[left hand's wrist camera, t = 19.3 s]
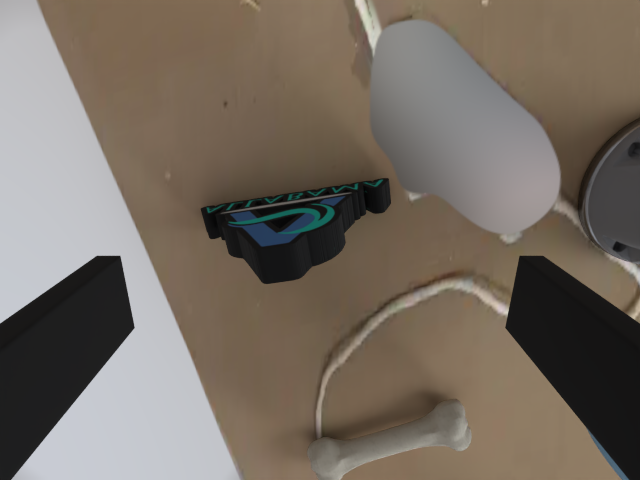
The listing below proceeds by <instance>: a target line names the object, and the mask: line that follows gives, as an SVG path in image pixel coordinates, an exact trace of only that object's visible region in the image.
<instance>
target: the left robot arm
mask: <svg viewBox="0 0 640 480" xmlns="http://www.w3.org/2000/svg"><path fill="white" fill-rule="evenodd" d="M579 216H580V220H581V224H582V226H583V229H584V231H585V233H586V234H587V236H588V237H589V238H590V240H591V241H592V242H593V243H594V244H595V245H596V246H598V247H599V248H600V249H602V250H604V251H605V252H607V253H609V254H611V255H613V256H615V257H617V258H619V259H622V260H625V261H628V262H632V263H636V264H640V118H639V119H637V120H635V121H634V122H632V123H630V124H629V125H627V126H626V127H624V128H623V129H621V130H620V131H619V132H618V133H616V134H615V135H614V136H613V137H612V138H611V139H610V140H609V141H608V142H607V143H606V144H605V145H604V146H603V147H602V148H601V150H600V151H599V152H598V153H597V155H596V156H595V158H594V159H593V161H592V162H591V164H590V166H589V168H588V170H587V172H586V174H585V176H584V179H583V182H582V185H581V189H580V194H579ZM505 328H506V329H507V330H508V332H509V333H510V334H511V335H512V337H513V338H514V339H515V340H516V341H517V343H518V344H519V345H520V346H521V348H522V349H523V350H524V351H525V352H526V354H527V355H528V356H529V357H530V359H531V360H532V361H533V362H534V364H535V365H536V366H537V367H538V368H539V370H540V371H541V372H542V373H543V375H544V376H545V377H546V378H547V380H548V381H549V382H550V383H551V384H552V386H553V387H554V388H555V389H556V391H557V392H558V393H559V394H560V396H561V397H562V398H563V399H564V400H565V402H566V403H567V404H568V405H569V407H570V408H571V409H572V410H573V412H574V413H575V414H576V415H577V416H578V418H579V419H580V420H581V421H582V423H583V424H584V425H585V426H586V428H587V430H588V432H589V434H590V436H591V437H592V439H593V441H594V442H595V444H596V446H597V447H598V449H599V450H600V452H601V453H602V455H603V456H604V457H605V459H606V460H607V461H608V463H609V464H610V465H611V467H612V468H613V469H614V471H615V472H616V473H617V474H618V475H619V477H620V478H621V479H622V480H640V323H638V322H637V321H635V320H634V319H632V318H631V317H630V316H628V315H627V314H625V313H624V312H622V311H621V310H620V309H618V308H617V307H615V306H614V305H612V304H611V303H610V302H608V301H607V300H605V299H604V298H602V297H601V296H600V295H598V294H597V293H595V292H594V291H592V290H591V289H590V288H588V287H587V286H585V285H584V284H582V283H581V282H580V281H578V280H577V279H575V278H574V277H572V276H571V275H570V274H568V273H567V272H565V271H564V270H562V269H561V268H560V267H558V266H557V265H555V264H554V263H552V262H551V261H550V260H548V259H547V258H545V257H544V256H520V257H519V262H518V267H517V272H516V277H515V282H514V287H513V292H512V297H511V302H510V307H509V312H508V317H507V322H506V327H505ZM133 329H134V323H133V317H132V312H131V307H130V303H129V297H128V292H127V287H126V282H125V277H124V272H123V267H122V262H121V257H120V256H96V257H95V258H93V259H92V260H90V261H89V262H88V263H86V264H85V265H83V266H82V267H80V268H79V269H78V270H76V271H75V272H73V273H72V274H70V275H69V276H68V277H66V278H65V279H63V280H62V281H60V282H59V283H58V284H56V285H55V286H53V287H52V288H50V289H49V290H48V291H46V292H45V293H43V294H42V295H40V296H39V297H38V298H36V299H35V300H33V301H32V302H30V303H29V304H28V305H26V306H25V307H23V308H22V309H20V310H19V311H18V312H16V313H15V314H13V315H12V316H10V317H9V318H8V319H6V320H5V321H3V322H2V323H0V480H11V479H12V478H13V477H14V475H15V474H16V473H17V472H18V471H19V469H20V468H21V467H22V466H23V464H24V463H25V462H26V461H27V459H28V458H29V457H30V456H31V454H32V453H33V452H34V451H35V450H36V448H37V447H38V446H39V445H40V443H41V442H42V441H43V440H44V438H45V437H46V436H47V435H48V434H49V432H50V431H51V430H52V429H53V427H54V426H55V425H56V424H57V423H58V421H59V420H60V419H61V418H62V416H63V415H64V414H65V413H66V412H67V410H68V409H69V408H70V407H71V405H72V404H73V403H74V402H75V400H76V399H77V398H78V397H79V395H80V394H81V393H82V392H83V391H84V389H85V388H86V387H87V386H88V384H89V383H90V382H91V381H92V380H93V378H94V377H95V376H96V375H97V373H98V372H99V371H100V370H101V368H102V367H103V366H104V365H105V364H106V362H107V361H108V360H109V359H110V357H111V356H112V355H113V354H114V352H115V351H116V350H117V349H118V348H119V346H120V345H121V344H122V343H123V341H124V340H125V339H126V338H127V336H128V335H129V334H130V333H131V332H132V330H133Z"/></svg>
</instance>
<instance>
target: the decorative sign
mask: <svg viewBox="0 0 640 480" xmlns="http://www.w3.org/2000/svg"><path fill="white" fill-rule="evenodd" d="M390 204H391V198H390V188H389V179H388V178H383V179H377V180H374V181H373V182H372V181H364V182H358V183H353V184H350V185H341V186H333V187H327V188H321V189H318V190H317V191H316V190H308V191H303V192H295V193H289V194H282V195H277V196H275V197H264V198H257V199H251V200H246V201H238V202H232V203H226V204H220V205H218V206H216V207H215V206H207V207H203V208H201V212H202V215H203V219H204V222H205V226H206V230H207V232H208V235H209V238H210V239H216V238H219V237H221V238H222V240H225V241H226V245H227V248H228V252H229V254H230V255H231V256H233V257H237V258H243V259H244V260H245V261H246V262H247V263H248V264H249V266H250V267H251V268H252V270H253V271H254V272H255V274H256V275H257V276H258V277H259V279H260V280H261V282H263V283H264V284H271V283H277V282H284V281H292V280H296V279H299V278H301V277H303V276H304V275H305V274H306V272H307V271H308V270H309V269H310V268H311V267H312V266H316V265H319V264H322V263H324V262H326V261H328V260H330V259H332V258H334V257H335V256H336V255H337V254H339V253H340V252H341V251H342V249H343V248H344V245H345V236H344V233H345V232H346V231H347V230H348V229H349V227H351V225H352V224H354V222H355V220H358V219H360V216H364V215H365V214H366V210H368V211H370V212H372V213H375V214H378V213H383V212H385V210H386V209H387V208H388V207H389V205H390Z"/></svg>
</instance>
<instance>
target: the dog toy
mask: <svg viewBox="0 0 640 480" xmlns="http://www.w3.org/2000/svg"><path fill="white" fill-rule="evenodd" d="M467 425H468V421H467V419H466V418H465V409H464V407H463V406H462V404H461V403H460V401H459V400H457V399H450V400H445V401H442V402H440V403H439V404H437V405H436V407H435V408H434V409H433V410H432V411H431V412H430V413H428V414H427V415H426V416H424V417H422V418H420V419H418V420H415V421H412V422H409V423H406V424H403V425H399V426H396V427H393V428H389V429H386V430H383V431H379V432H376V433H372V434H369V435H366V436H362V437H359V438H354V439H349V440H338V439H333V438H330V437H322V438H319V439H317V440H315V441H313V442H312V443H311V444H310V445H309V448H308V450H307V455H308V457H309V459H310V462H311V469H312V470H313V471H314V472H316V475H317V478H318V479H319V480H341V478H342V476H343V475H344V474H345V473H347V472H349V471H350V470H352V469H354V468H356V467H358V466H360V465H362V464H364V463H367V462H370V461H373V460H376V459H380V458H383V457H387V456H390V455H394V454H397V453H401V452H404V451H408V450H411V449H415V448H420V447H428V446H448V447H450V448H452V449H454V450H457V451H463V450H465V449H466V448H467V447H468V446H469V445H470V442H471V430H470V428H469V427H468V426H467Z"/></svg>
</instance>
